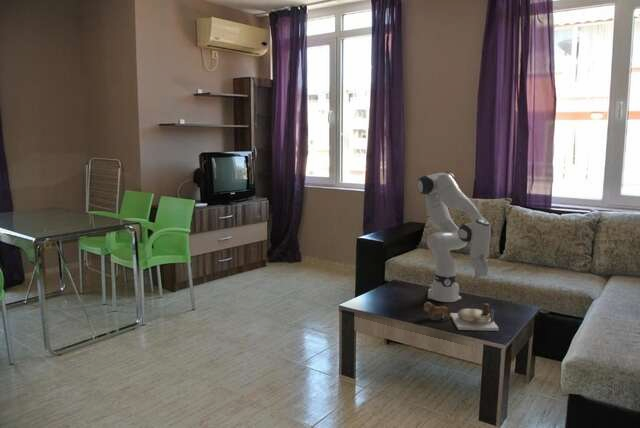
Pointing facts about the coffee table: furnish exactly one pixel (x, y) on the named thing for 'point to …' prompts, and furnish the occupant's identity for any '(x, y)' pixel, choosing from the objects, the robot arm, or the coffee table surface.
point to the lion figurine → (436, 310)
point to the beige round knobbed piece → (475, 314)
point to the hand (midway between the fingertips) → (477, 279)
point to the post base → (474, 323)
